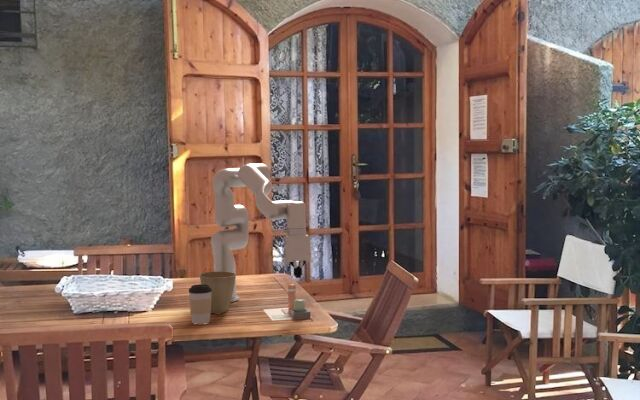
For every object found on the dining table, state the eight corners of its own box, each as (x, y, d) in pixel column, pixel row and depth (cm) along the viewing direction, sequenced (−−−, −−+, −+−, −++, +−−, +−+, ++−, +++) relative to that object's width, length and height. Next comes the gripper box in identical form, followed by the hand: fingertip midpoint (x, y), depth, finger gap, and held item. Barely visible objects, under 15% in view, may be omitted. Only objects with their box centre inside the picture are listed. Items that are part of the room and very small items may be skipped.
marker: (289, 312, 306) (288, 285, 305) (287, 310, 309) (287, 284, 308) (297, 311, 307) (296, 285, 306) (295, 309, 310) (294, 283, 309)
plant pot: (207, 317, 301) (206, 278, 300) (195, 310, 314) (194, 273, 313) (241, 313, 308) (241, 275, 307) (229, 306, 321) (228, 270, 320)
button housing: (293, 318, 295) (293, 312, 295) (289, 315, 301) (289, 309, 301) (310, 317, 297) (310, 311, 296) (306, 313, 303) (306, 307, 303)
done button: (295, 314, 296) (295, 301, 296) (293, 311, 300) (293, 299, 300) (306, 313, 297) (306, 301, 297) (303, 311, 302) (303, 298, 301)
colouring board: (272, 322, 293) (272, 320, 293) (262, 311, 312) (262, 309, 312) (311, 319, 297) (311, 317, 297) (300, 308, 316) (300, 306, 316)
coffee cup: (190, 320, 297) (189, 283, 296) (213, 319, 298) (212, 282, 297) (188, 325, 288) (187, 287, 287) (212, 324, 289) (211, 286, 288)
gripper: (280, 234, 293) (281, 280, 294) (317, 232, 297) (318, 277, 299) (276, 232, 300) (277, 277, 302) (312, 230, 304) (313, 274, 306)
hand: (297, 277), depth 300 cm, fingers closed
